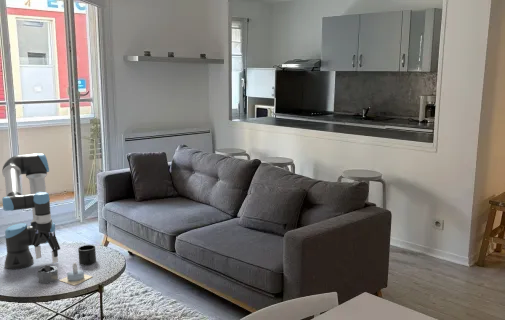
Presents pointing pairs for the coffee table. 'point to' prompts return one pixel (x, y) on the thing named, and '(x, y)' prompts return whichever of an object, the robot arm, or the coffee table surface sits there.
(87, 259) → the black cup
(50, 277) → the ring
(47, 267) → the stand
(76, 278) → the hub
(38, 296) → the coffee table surface
